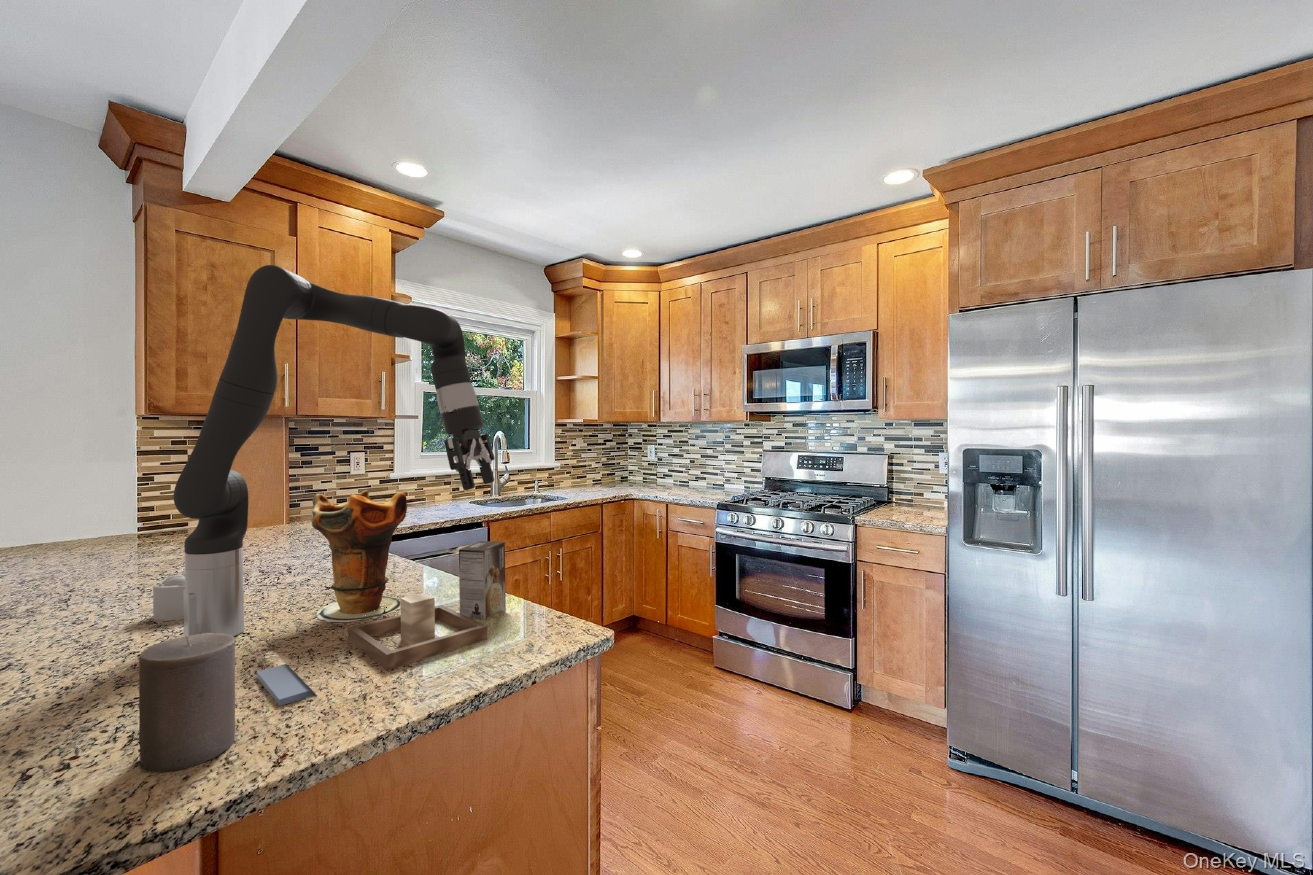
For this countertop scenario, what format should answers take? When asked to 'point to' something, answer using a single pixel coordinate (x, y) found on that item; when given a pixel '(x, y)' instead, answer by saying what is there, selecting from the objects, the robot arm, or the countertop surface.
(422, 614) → the maple block
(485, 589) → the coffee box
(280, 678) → the pad
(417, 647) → the brown wooden square frame
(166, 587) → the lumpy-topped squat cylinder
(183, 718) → the pillar candle
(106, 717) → the countertop surface
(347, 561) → the decorative vase
